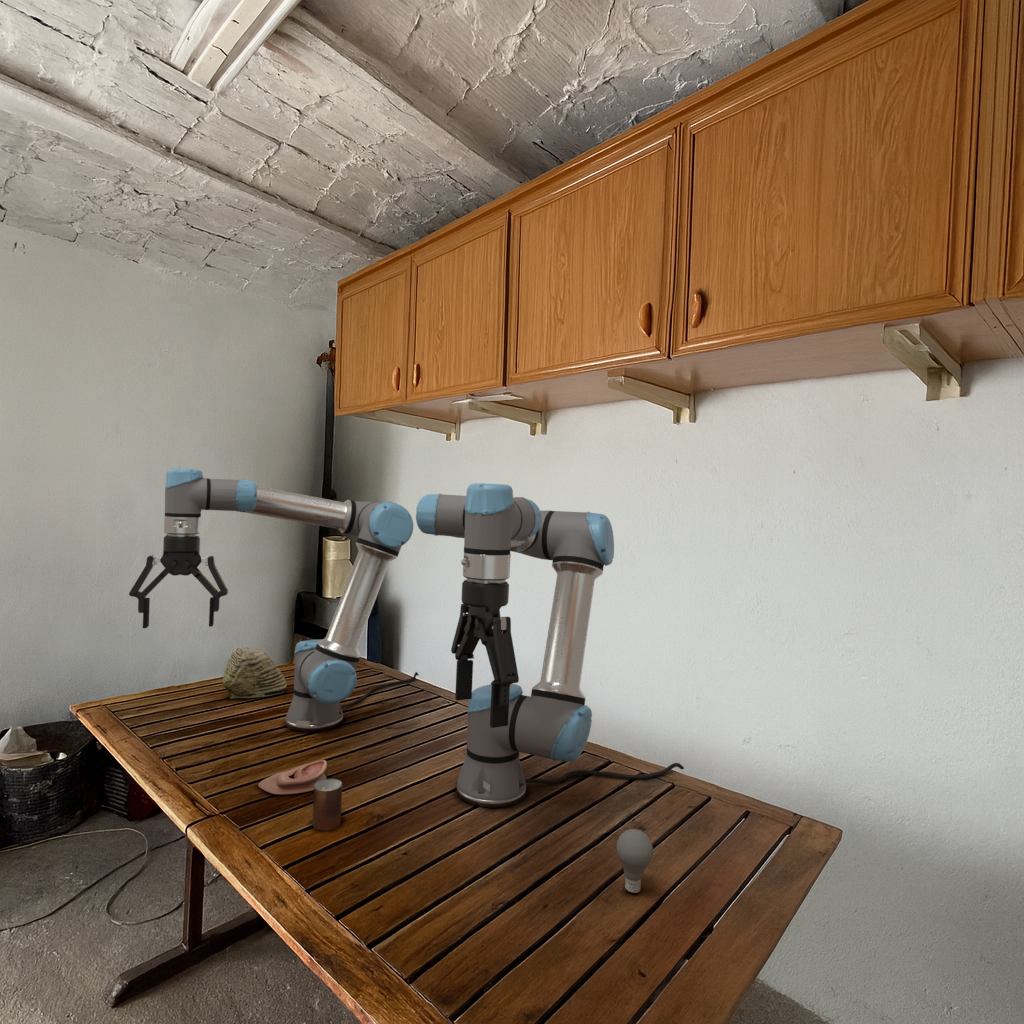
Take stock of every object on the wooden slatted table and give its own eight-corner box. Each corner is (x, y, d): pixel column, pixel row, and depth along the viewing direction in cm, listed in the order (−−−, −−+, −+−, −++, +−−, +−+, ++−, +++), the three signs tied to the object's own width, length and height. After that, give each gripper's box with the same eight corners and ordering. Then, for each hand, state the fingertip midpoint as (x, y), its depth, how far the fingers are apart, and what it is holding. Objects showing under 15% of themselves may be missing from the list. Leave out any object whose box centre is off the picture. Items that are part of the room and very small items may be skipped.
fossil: (218, 695, 195) (220, 647, 195) (278, 685, 208) (279, 640, 207) (228, 703, 189) (230, 653, 188) (289, 692, 201) (290, 645, 201)
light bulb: (610, 879, 108) (613, 822, 108) (644, 879, 109) (647, 822, 109) (619, 902, 102) (622, 840, 102) (655, 901, 103) (658, 840, 103)
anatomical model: (250, 772, 134) (280, 751, 146) (249, 790, 135) (280, 768, 146) (307, 780, 132) (333, 759, 143) (306, 799, 132) (333, 776, 143)
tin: (311, 831, 120) (313, 791, 120) (313, 818, 125) (314, 779, 125) (340, 829, 121) (342, 789, 121) (340, 815, 126) (342, 777, 126)
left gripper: (116, 534, 139) (113, 631, 139) (239, 537, 148) (236, 628, 148) (124, 532, 146) (121, 624, 146) (241, 535, 155) (238, 621, 155)
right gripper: (435, 570, 111) (430, 691, 111) (499, 592, 88) (493, 742, 89) (475, 570, 114) (470, 687, 114) (545, 590, 92) (539, 735, 92)
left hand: (179, 626), depth 147 cm, fingers open, 13 cm apart
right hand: (480, 712), depth 102 cm, fingers open, 13 cm apart
